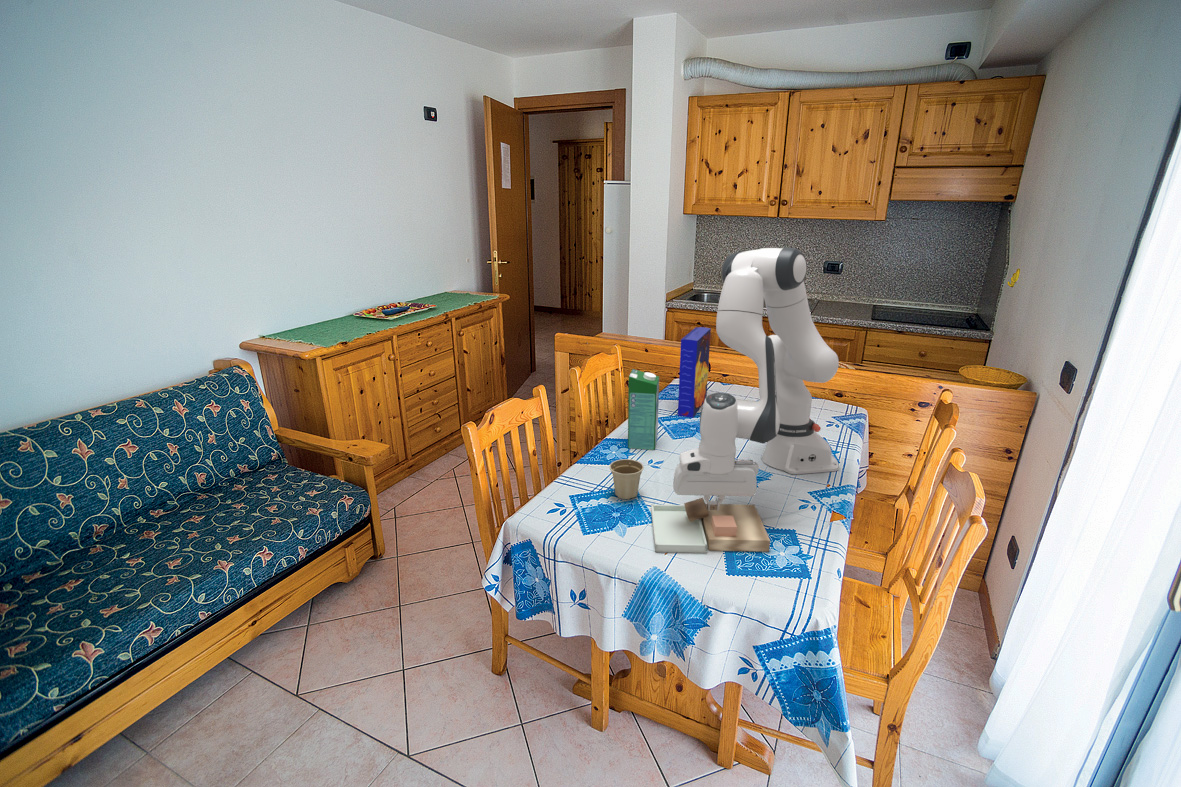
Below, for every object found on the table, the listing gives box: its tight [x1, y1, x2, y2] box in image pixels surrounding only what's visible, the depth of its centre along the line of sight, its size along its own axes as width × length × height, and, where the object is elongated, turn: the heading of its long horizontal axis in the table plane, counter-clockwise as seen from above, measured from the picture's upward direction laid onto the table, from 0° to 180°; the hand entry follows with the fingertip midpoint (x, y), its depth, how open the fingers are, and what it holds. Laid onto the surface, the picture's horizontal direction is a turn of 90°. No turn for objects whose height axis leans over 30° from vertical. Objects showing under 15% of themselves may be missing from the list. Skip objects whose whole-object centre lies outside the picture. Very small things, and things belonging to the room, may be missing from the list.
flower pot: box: [609, 458, 645, 500], centre depth 155 cm, size 9×9×9 cm
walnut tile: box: [683, 496, 709, 522], centre depth 141 cm, size 5×5×2 cm
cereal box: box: [677, 326, 712, 419], centre depth 215 cm, size 22×6×30 cm, turn 156°
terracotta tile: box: [711, 515, 737, 536], centre depth 133 cm, size 5×5×2 cm
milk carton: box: [627, 368, 660, 451], centre depth 184 cm, size 9×9×25 cm
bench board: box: [701, 503, 771, 553], centre depth 137 cm, size 14×16×3 cm
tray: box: [650, 504, 708, 554], centre depth 138 cm, size 12×18×2 cm, turn 177°
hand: (712, 509), depth 140 cm, fingers closed
